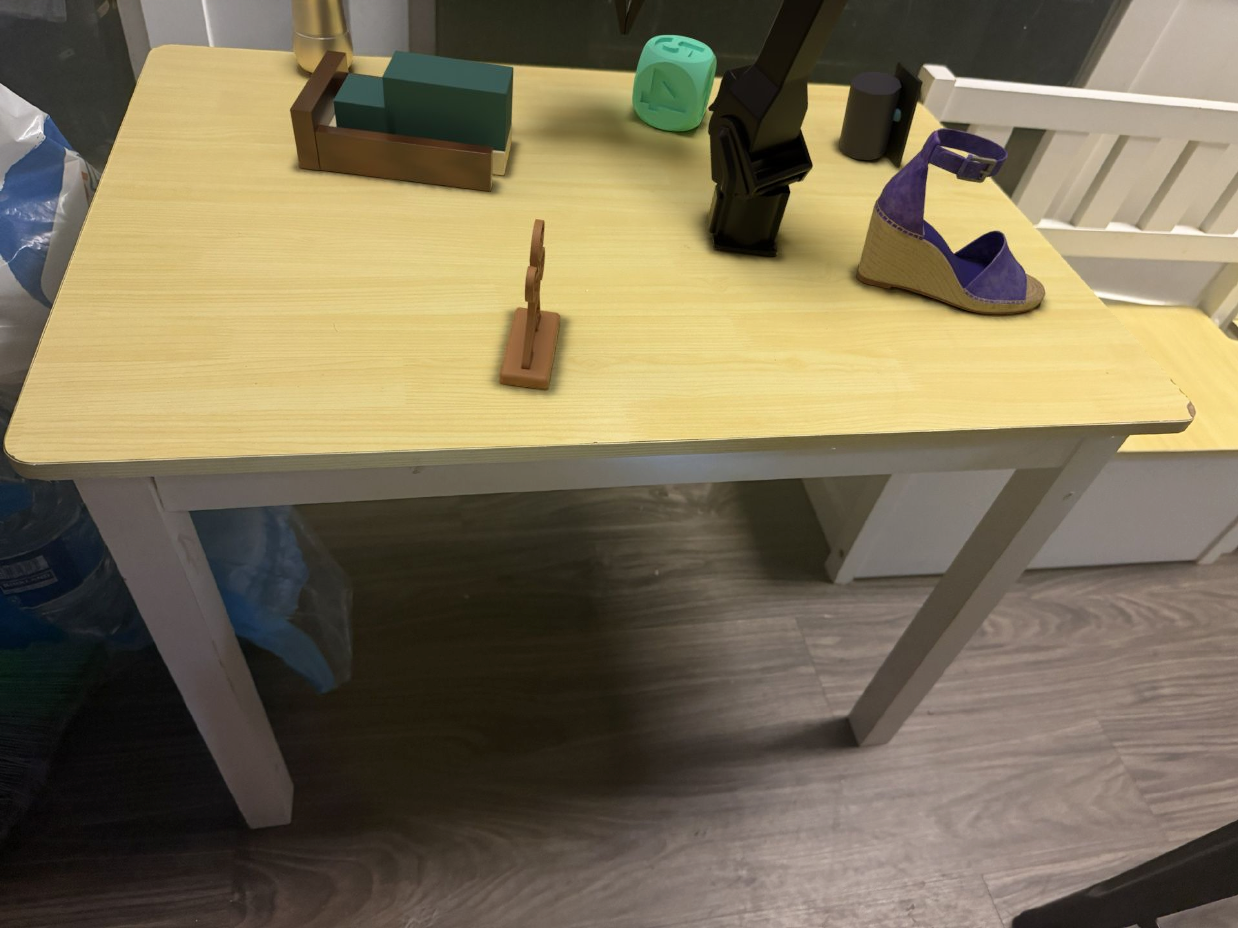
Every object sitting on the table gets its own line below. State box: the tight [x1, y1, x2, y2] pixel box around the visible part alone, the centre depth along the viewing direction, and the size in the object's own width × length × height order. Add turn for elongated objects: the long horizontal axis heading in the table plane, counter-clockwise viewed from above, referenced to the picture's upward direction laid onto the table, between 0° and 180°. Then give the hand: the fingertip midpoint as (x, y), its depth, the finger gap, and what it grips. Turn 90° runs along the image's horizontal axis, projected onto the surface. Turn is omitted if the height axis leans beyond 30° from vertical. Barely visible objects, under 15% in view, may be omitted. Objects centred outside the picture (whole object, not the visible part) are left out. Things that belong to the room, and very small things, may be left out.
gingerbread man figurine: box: [499, 218, 561, 390], centre depth 63 cm, size 9×4×12 cm, turn 176°
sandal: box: [856, 127, 1046, 315], centre depth 77 cm, size 8×20×15 cm, turn 81°
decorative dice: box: [631, 34, 717, 132], centre depth 97 cm, size 8×8×8 cm
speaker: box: [838, 61, 924, 168], centre depth 97 cm, size 8×6×10 cm
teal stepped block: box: [329, 50, 514, 176], centre depth 84 cm, size 18×7×8 cm, turn 89°
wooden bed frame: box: [289, 50, 494, 192], centre depth 85 cm, size 19×14×6 cm
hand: (623, 34), depth 85 cm, fingers closed
